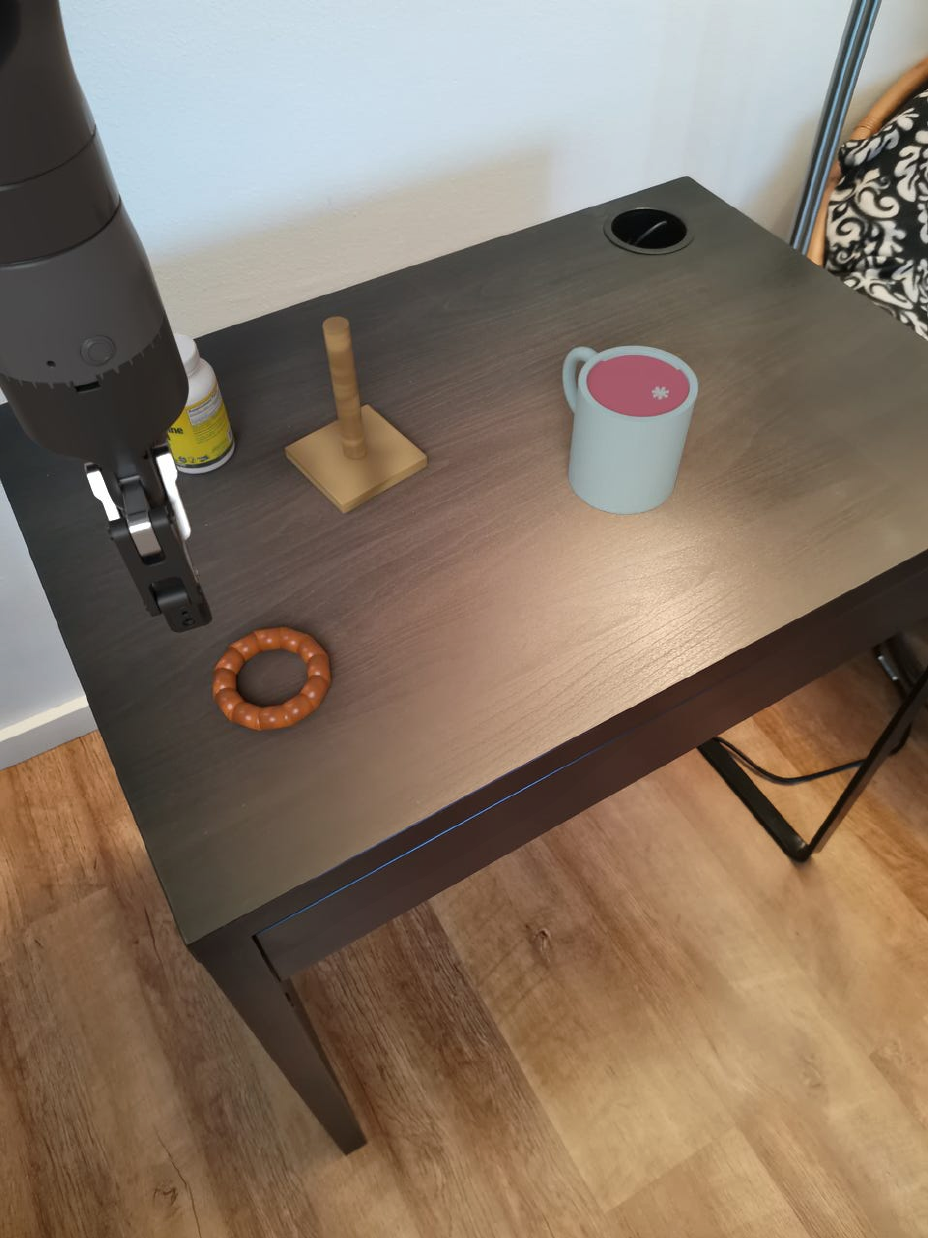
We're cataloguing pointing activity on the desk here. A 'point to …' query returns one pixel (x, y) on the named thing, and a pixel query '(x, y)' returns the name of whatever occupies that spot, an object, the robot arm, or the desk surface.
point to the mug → (627, 425)
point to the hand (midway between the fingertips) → (178, 566)
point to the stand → (352, 437)
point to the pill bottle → (200, 417)
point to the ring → (278, 714)
